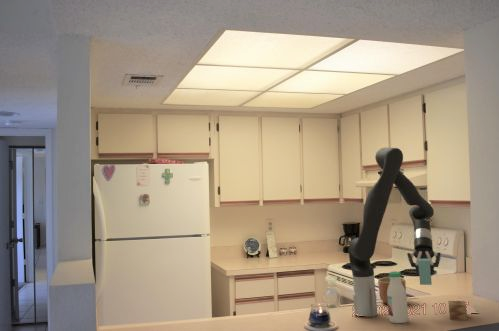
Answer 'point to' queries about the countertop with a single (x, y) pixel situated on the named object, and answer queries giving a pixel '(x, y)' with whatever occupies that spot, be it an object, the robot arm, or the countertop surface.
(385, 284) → the planter
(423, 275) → the teal brick
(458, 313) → the tower base
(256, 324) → the countertop surface
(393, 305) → the milk bottle
